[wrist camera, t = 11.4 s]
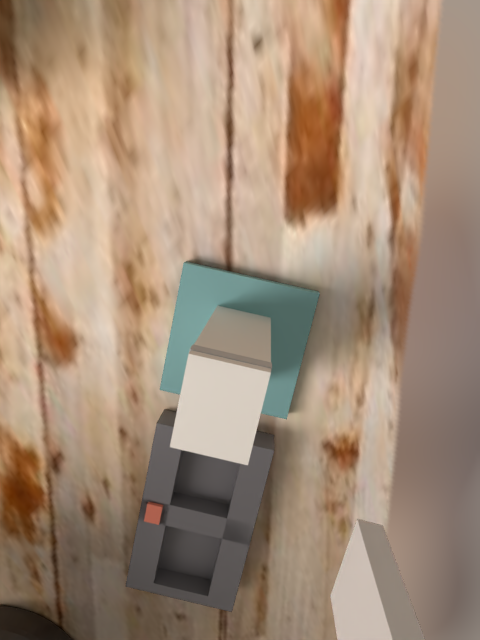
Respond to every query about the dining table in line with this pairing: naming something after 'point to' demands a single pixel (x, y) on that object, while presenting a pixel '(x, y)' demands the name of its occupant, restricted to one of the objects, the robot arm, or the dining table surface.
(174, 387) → the pad
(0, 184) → the dining table surface
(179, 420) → the block
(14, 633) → the robot arm
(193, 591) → the power strip
